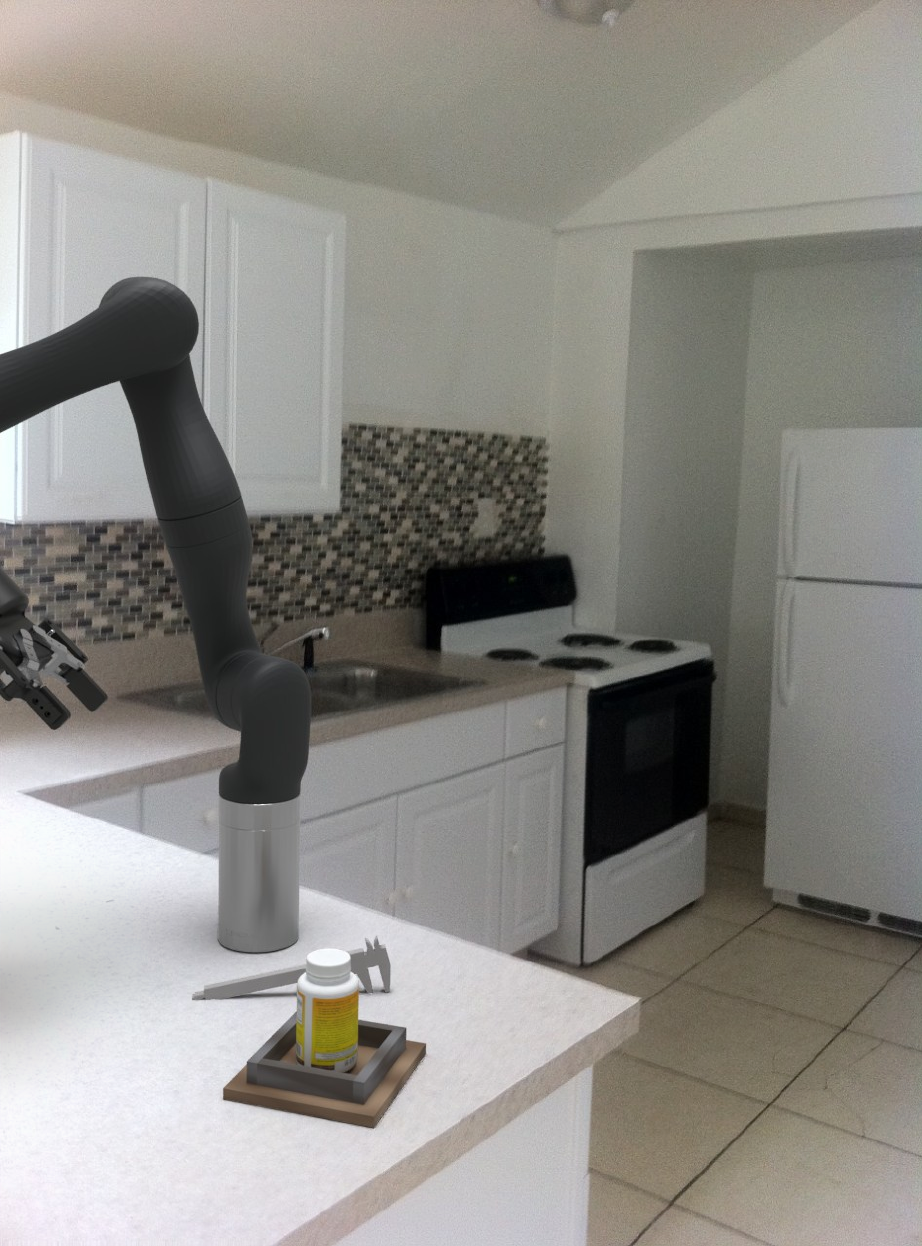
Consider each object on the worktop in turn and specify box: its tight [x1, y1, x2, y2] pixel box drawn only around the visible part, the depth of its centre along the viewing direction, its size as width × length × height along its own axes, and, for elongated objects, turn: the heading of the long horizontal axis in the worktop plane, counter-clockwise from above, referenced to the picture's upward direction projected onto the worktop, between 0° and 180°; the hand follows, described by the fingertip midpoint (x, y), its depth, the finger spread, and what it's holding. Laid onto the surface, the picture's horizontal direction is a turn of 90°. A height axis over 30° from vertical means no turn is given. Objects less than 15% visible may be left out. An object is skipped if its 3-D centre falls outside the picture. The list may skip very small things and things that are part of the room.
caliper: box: [191, 935, 392, 1001], centre depth 130 cm, size 20×1×6 cm, turn 99°
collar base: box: [222, 1010, 427, 1129], centre depth 113 cm, size 14×14×3 cm
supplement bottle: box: [296, 948, 360, 1073], centre depth 113 cm, size 6×6×10 cm
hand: (82, 714), depth 119 cm, fingers open, 8 cm apart
